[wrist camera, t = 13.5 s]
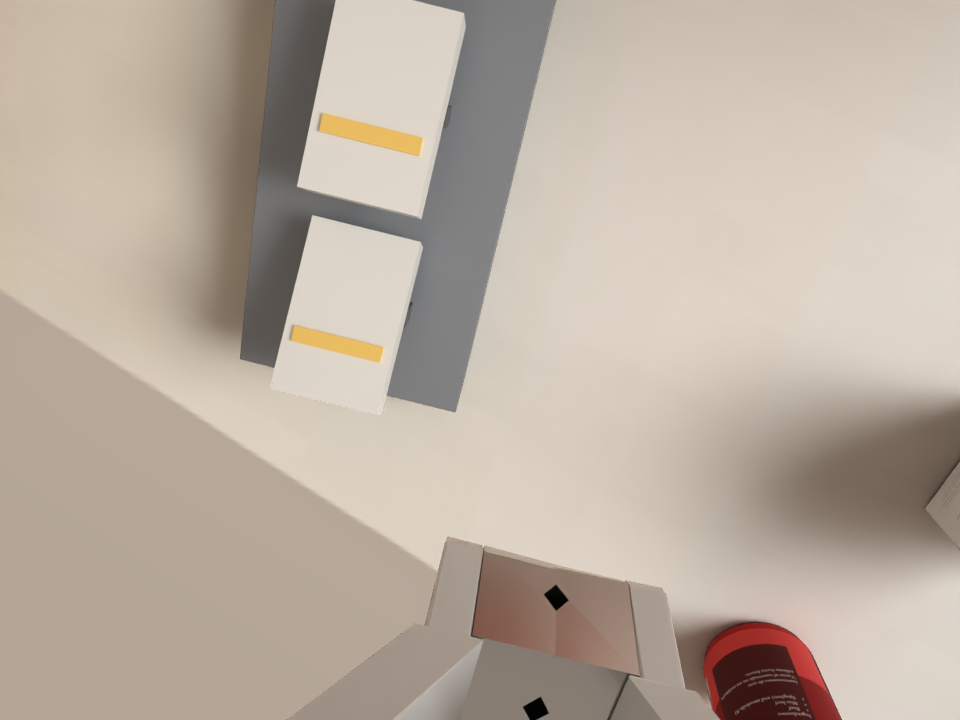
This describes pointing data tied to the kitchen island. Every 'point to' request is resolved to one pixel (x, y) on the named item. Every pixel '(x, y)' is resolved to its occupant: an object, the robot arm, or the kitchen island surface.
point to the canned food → (765, 676)
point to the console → (442, 230)
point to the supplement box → (948, 506)
